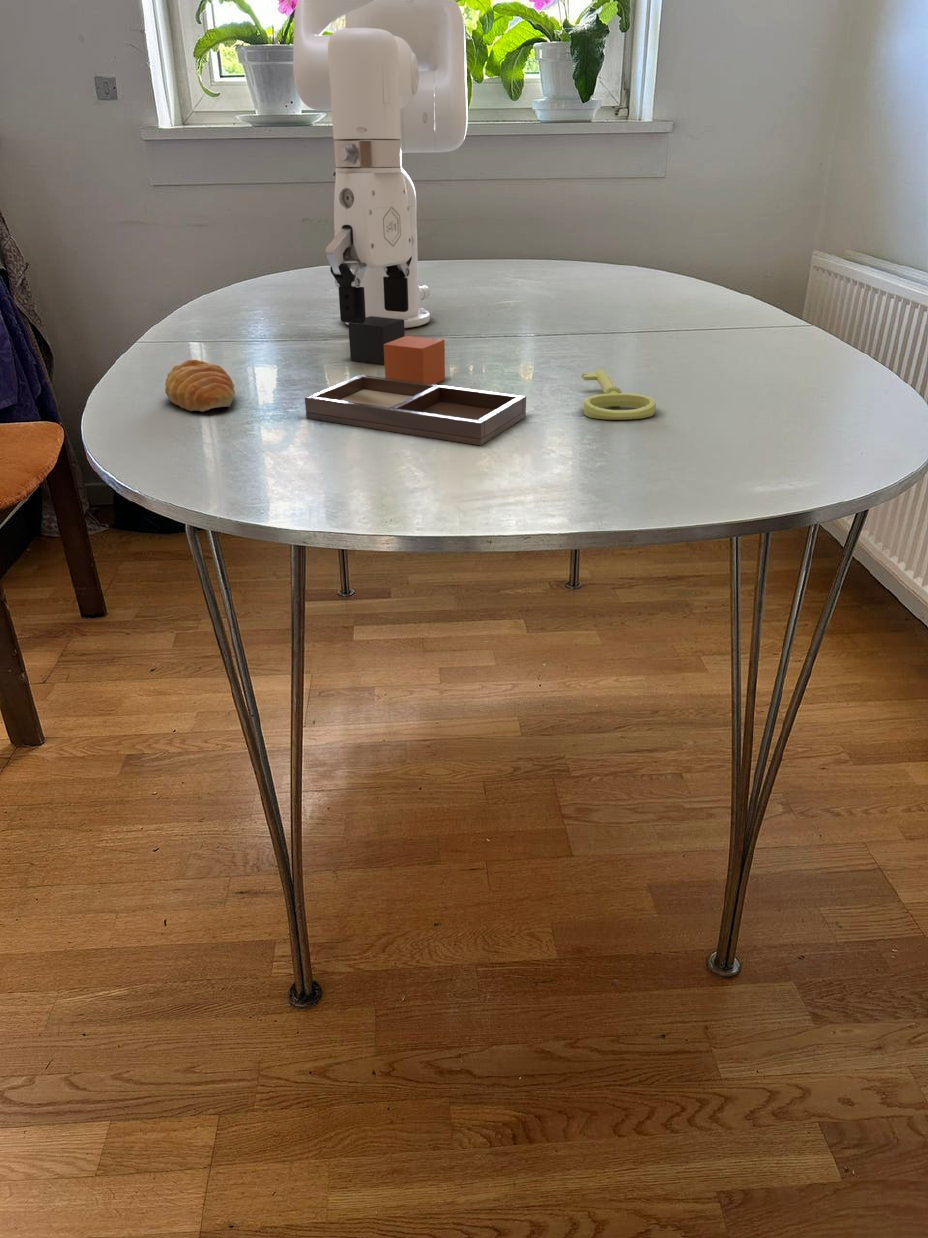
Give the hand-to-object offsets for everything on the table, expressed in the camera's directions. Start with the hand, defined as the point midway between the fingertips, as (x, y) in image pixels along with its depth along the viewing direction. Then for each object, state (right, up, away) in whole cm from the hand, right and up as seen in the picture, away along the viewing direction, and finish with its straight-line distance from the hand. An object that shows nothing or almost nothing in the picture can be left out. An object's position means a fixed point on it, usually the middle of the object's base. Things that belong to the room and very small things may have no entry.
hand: (375, 316), depth 111 cm
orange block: (+5, -10, -7) cm, 13 cm away
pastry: (-17, -14, -14) cm, 26 cm away
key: (+26, -15, -15) cm, 34 cm away
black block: (0, -4, +3) cm, 5 cm away
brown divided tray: (+6, -16, -19) cm, 26 cm away
